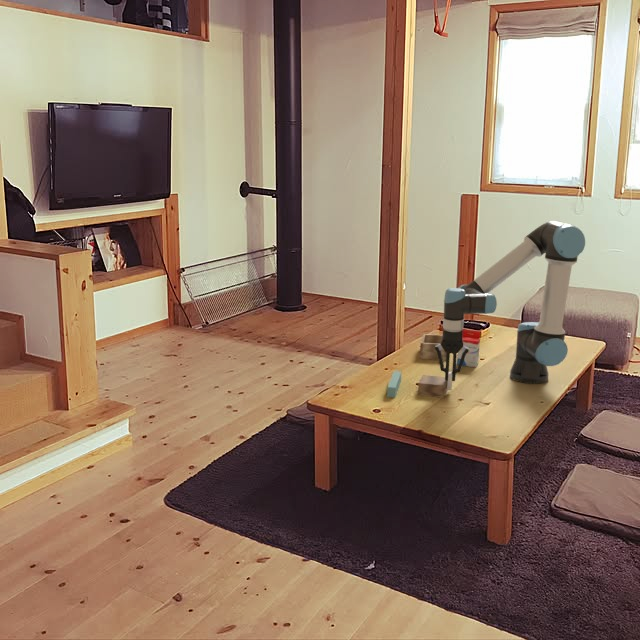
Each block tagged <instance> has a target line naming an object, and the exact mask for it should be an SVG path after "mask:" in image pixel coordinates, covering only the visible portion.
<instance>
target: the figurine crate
mask: <svg viewBox="0 0 640 640" xmlns="http://www.w3.org/2000/svg"><path fill="white" fill-rule="evenodd" d="M442 336H443V334H430V333H422V338H421V341H420V348H419V350H420V351H419V352H420V353H419V359H423V360H437V361H439V358H438V353H437V351H436V350H435V346H436V345H439V344H441V341H442ZM441 348H442V347H441ZM441 354H442V359H443V361H446V352H445V350H444V349H443V348H442V349H441Z"/></svg>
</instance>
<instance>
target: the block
mask: <svg viewBox="0 0 640 640" xmlns="http://www.w3.org/2000/svg"><path fill="white" fill-rule="evenodd" d="M417 384H418V385H417V386H418V388H417V395H419V396H426V397H427V396H429V397H436V398H445V396H446V394H447V392H448V390H447V389H448V381H445V376H436V375H426V374H423V375H422V376H421V377H420V379H419V381H418V383H417Z"/></svg>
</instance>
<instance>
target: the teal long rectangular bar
mask: <svg viewBox="0 0 640 640" xmlns="http://www.w3.org/2000/svg"><path fill="white" fill-rule="evenodd" d="M401 382H402V371H401V370H400V371H399V370H393V372H392V375H391V378H390V380H389V383H388V385H387V392H386V393H387V394H386V395H387V398H393V399H395V398H396V396H397V395H398V391H399V388H400V385H401Z"/></svg>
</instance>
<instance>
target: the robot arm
mask: <svg viewBox="0 0 640 640" xmlns="http://www.w3.org/2000/svg"><path fill="white" fill-rule="evenodd" d="M585 247H586V237H585V234H584V233H583V231H582V230H581V229H580V228H578V227H577V226H575V225H574V224H569V223H565V222H562V221H559V220H550V221H547V222H545V223H543V224H541V225H539V226H538V227H536V228H535V229H533V231H531V232H530V233H528V234H527V235H525V236H524V238H523V241H522V242H521V243H520V244H519V245H517V246H516V247H514V249H512V250H510V251H509V252H508V253H507V254H505V255H504V256H503V257H501V258H500V259H499V260H498V261H496V262H495V263H494V264H492V266H490V267H489V268H487V270H485V271H483V273H481V274H479V275H478V277H476V278H474V279H473V280H472V281H471V282H469V283H468V284H462V285H460V286H459V287H457V288H456V287H451V288H447V289H446V290H445V291H444V299H443V304H444V305H443V319H442V320H443V321H442V328H443V329H442V335H443V336H442V341H441V344H439V345H436V346H435V350H436V351H437V353H438V358H439V360H438V363H439V367H440V371H441V372H443V373H444V374H445V375H444V377H445V381H448V389H447V391H452V389H453V388H452V387H453V382H455V381H456V374H458V373H461V371H462V367H463V366H462V365H463V362H464V358H465V355H466V354H467V353H468V351H469V348H468V347H465V346H464V344H463V341H462V340H463V331H462V330H464V323H465V322H464V321H465V319H464V318H465V317H464V316H465V315H479V314H480V315H482V314H483V315H487V314H493V313H495V312H496V309H497V306H498V303H497V297H496V295H495V294H494V293H491V291H493V290H494V289H495V288H497V287H498V286H499V285H501V284H502V283H503V282H505V281H506V280H507V279H508V278H510V277H511V276H512V275H514V274H515V273H517V272H518V271H519V270H520V269H522V268H523V267H524V266H525V265H527V264H528V263H530V262H531V261H532V260H533V259H535V258H536V257H542V256H543V255H544V254H545V255H544V259H545V260H546V261H547V270H546V276H545V282H544V289H543V295H542V302H541V308H540V315H539V321H537V322H536V321H534V322H533V321H532V322H531V321H528V322H527V321H526V322H522V323H521V322H520V323H519V324H518V326H517V331H516V332H517V334H516V335H517V336H516V349H515V359H514V361H513V364H512V366H511V368H510V371H509V376H510V379H512V380H513V381H517V382H519V383H520V382H521V383H524V384H542V383H546V382H549V371H548V367H555V366H558V365H559V364H561V363H562V362H563V361H565V359H566V358H567V356H568V352H569V351H568V345H567V343H566V342H565V337H566V331H565V329H564V327H563V324H564V315H565V310H566V304H567V298H568V291H569V287H570V286H569V285H570V280H571V273H572V268H573V266H574V265H575V264H576V263H577V262H578V257H579V256H580V254H581V253H583V251H584V250H585ZM441 347H442V348H443V349H444V350H445V352H446V360H445V364H444V360H443V359H442V354H441V349H442V348H441ZM461 349H462V352H463V353H462V356H461V359H460V362H459V365H457V355H458V352H459V351H460V350H461ZM450 354H452V356H453V357H452V371H450V359H451V358H450V357H451V355H450Z"/></svg>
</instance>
